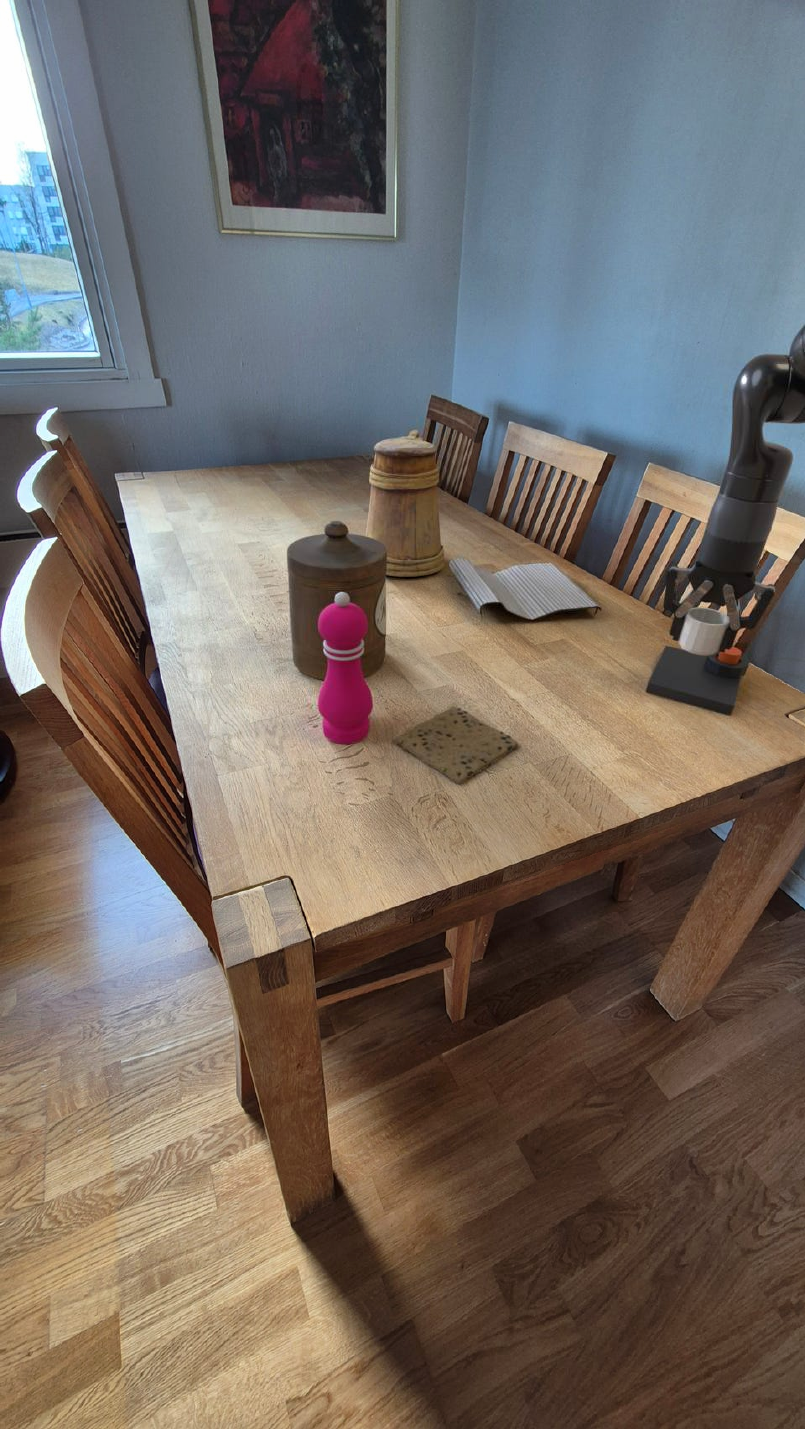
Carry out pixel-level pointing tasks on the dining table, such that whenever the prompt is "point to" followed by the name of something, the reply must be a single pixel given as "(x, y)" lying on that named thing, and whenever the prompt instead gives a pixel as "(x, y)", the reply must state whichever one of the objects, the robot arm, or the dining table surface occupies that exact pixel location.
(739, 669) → the scale
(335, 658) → the pepper mill
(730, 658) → the button
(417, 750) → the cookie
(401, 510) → the tankard
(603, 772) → the dining table surface
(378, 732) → the dining table surface
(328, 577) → the wooden container
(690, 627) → the white cup
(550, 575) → the mat
